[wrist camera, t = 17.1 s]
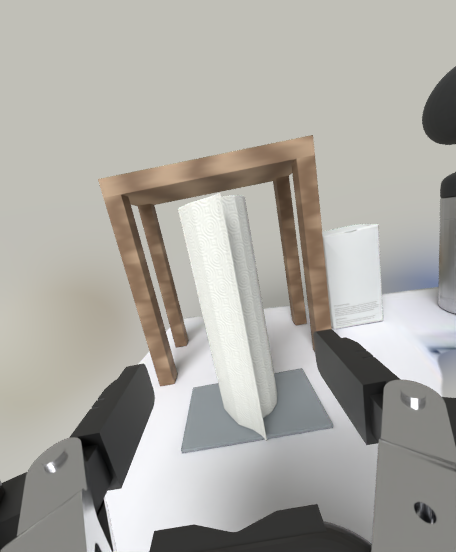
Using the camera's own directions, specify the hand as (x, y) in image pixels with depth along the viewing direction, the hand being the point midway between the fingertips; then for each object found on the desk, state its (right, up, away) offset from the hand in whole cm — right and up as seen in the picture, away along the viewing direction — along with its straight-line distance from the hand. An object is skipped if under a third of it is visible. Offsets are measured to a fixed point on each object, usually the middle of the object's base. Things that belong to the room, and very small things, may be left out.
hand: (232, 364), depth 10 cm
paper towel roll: (+2, -10, +14) cm, 17 cm away
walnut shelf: (+2, -7, +25) cm, 27 cm away
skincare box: (+21, -3, +28) cm, 35 cm away
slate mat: (+2, -10, +14) cm, 17 cm away
